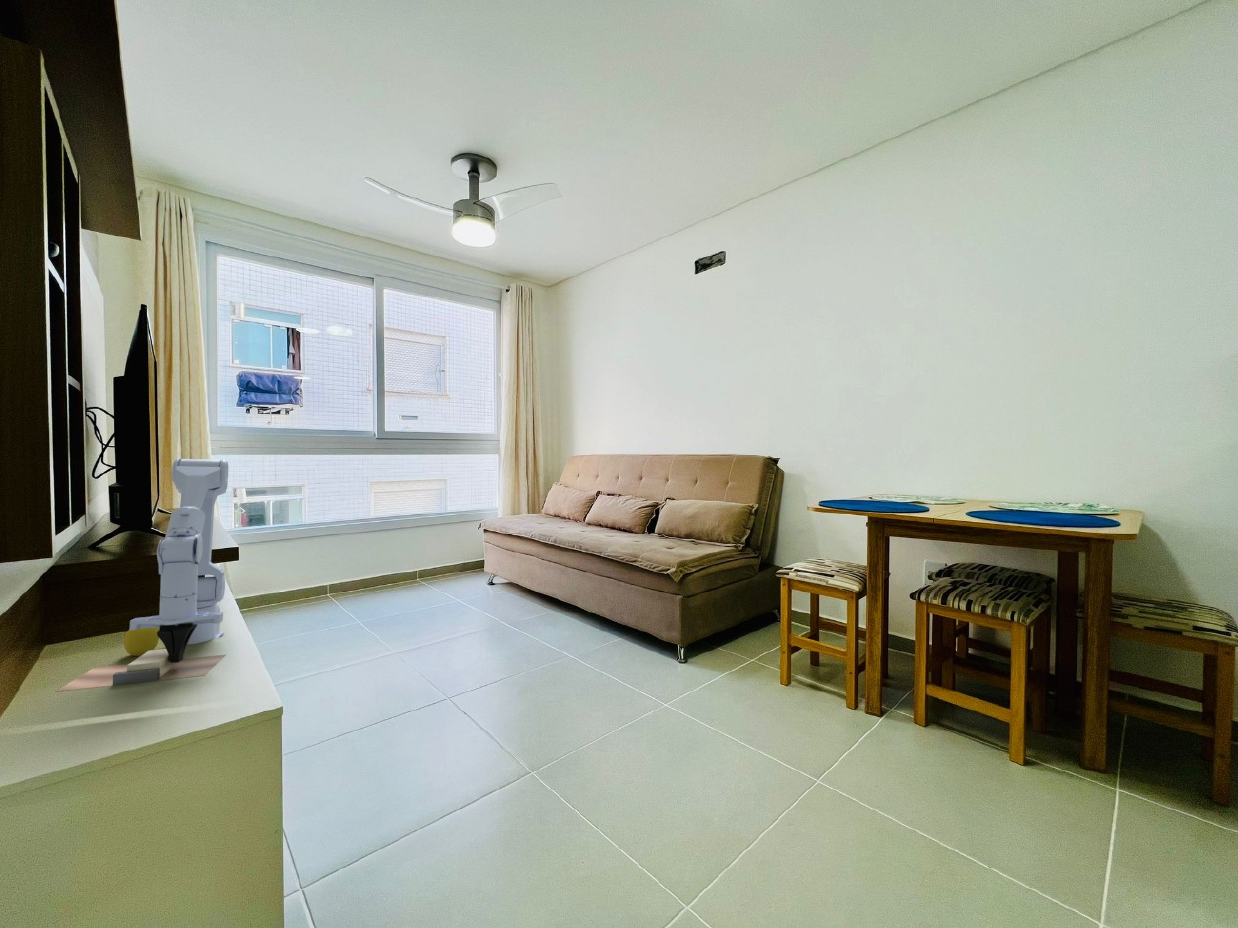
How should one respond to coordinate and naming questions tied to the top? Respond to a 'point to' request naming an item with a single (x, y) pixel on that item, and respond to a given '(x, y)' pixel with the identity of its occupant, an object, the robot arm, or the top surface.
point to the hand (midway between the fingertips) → (176, 661)
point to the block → (152, 661)
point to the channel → (136, 676)
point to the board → (105, 678)
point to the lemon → (140, 641)
